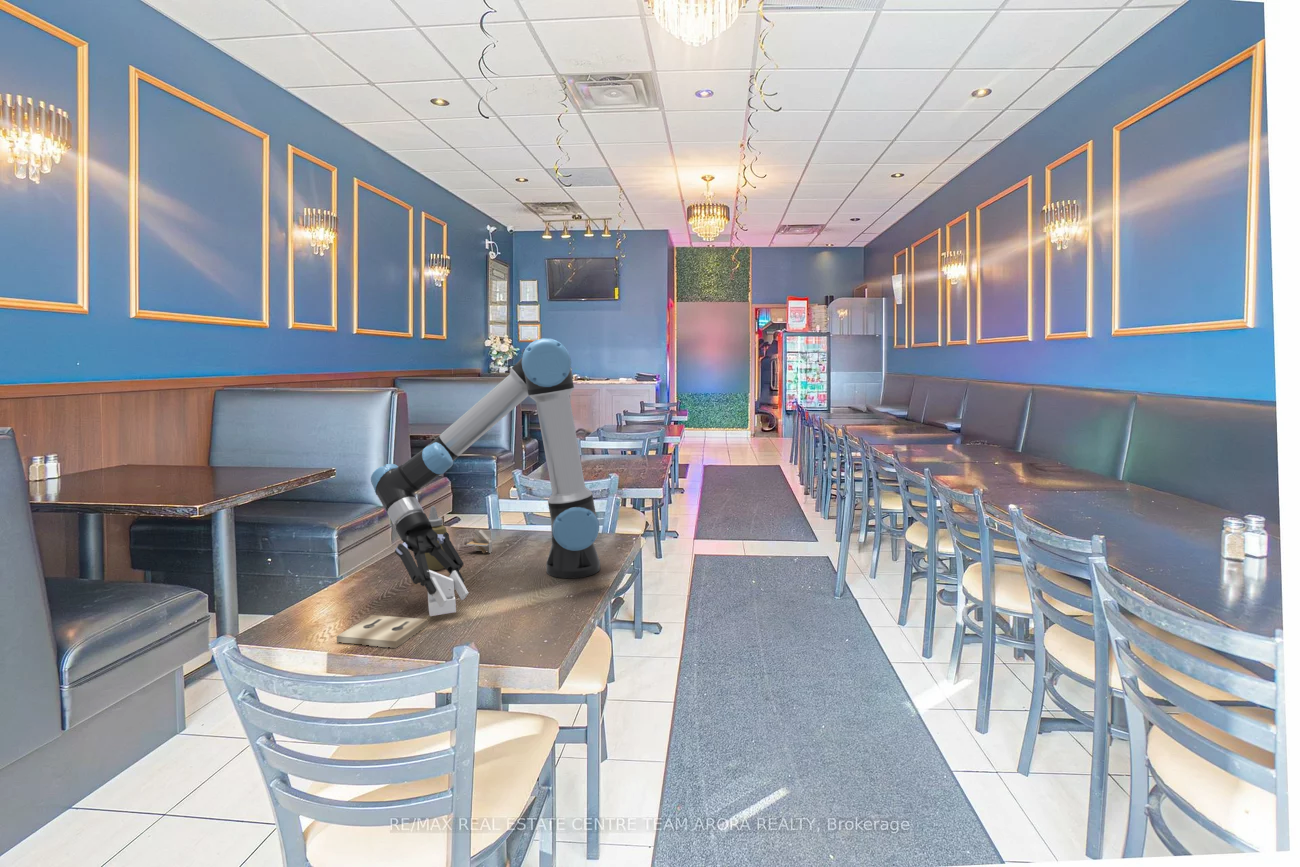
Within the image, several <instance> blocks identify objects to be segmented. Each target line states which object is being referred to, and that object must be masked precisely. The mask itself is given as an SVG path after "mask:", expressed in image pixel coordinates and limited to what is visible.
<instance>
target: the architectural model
mask: <svg viewBox="0 0 1300 867" xmlns="http://www.w3.org/2000/svg"><path fill="white" fill-rule="evenodd" d="M473 533H474V537H473V541H472V540H471V541H470V542H469V541H468V542H467V543H466V546H472V547H473V546H475V552H476V551H482V552H481V553H483V554H484V553H485V552H486V551H488V552H486V553H488V554H489V553H490V554H492V553H493V542H492V530H491V529H490V530H487V529H485V530H484V529H474V532H473ZM491 552H492V553H491ZM486 553H485V554H486Z"/></svg>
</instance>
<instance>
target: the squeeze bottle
mask: <svg viewBox="0 0 1300 867" xmlns="http://www.w3.org/2000/svg"><path fill="white" fill-rule="evenodd" d="M436 508H437V507H436V506H431V507H430V511H429V517H428V519H429V521H430V523H431V526H432V529H433V530H434V531H435V532H436V533H437V534H444V533H445V532H447V527H446V526H445V525H443V518H442V517H439V516H438V512H437V509H436ZM437 542H438V543H439V541H438V540H437ZM440 546H441V544H440ZM441 549H442V550H443V548H442V546H441ZM443 551H444V550H443ZM444 552H445V551H444ZM425 557H426V561H427V565H428V569H429V570H431V571H439V570H443V569H445V568H444V567H443V566H442V565H441V563H440V562H439V561H438V560H437V559H436V558H435V557H434V556H431V555H430V554H429V553H425Z"/></svg>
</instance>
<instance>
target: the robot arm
mask: <svg viewBox="0 0 1300 867" xmlns="http://www.w3.org/2000/svg"><path fill="white" fill-rule="evenodd" d="M574 390H575V386H574V380H573V374H572V360H571V355H570V352H569V350H568V349H567V348H566V347H565V345H564V344H563V343H561V341H558V340H555V339H553V338H549V337H547V338H539V339H535V340H533V341H532V342H530V343H529V344H528V345H527V346H526V348H525V349H524V351H523V353H522V357H521V358H520V359H519V360H518V361H517V362H516V363H515V364H514V365H513V366H511V368H510V373H509V374H507V376H506V377H505V378H504V379H502V380H501V381H500V382H499V383H498V384H497V385H496V386H495V387H494V388H492V389H491V390H490V391H488V393H486V394H485V395H484V396H483V397H482V398H480V399H479V401H477V402H476V403H475V404H473V406H471V407H470V408H469V409H468V410H467V411H466V412H465V413H464V414H462V415H461V416H460V417H458V419H456V420H455V421H454V422H453V423H452V424H451V425H450V426H448V427H447V428H446V429H445V430H444V431H443V432H441V433H440V434H439V435H438V436H437V437H436V438H434V439H433V440H432V441H431V442H430V443H429V444H427V445H425V447H424V448H422V449H421V450H420V451H419V452H418V453H416V454H415V455H413V456H412V457H411V458H409V459H408V460H406V461H405V462H404V463H403V464H401V465H399V466H398V465H397V464H395V463H387V464H384V465H383V466H379V467H377V468H375V470H374V471H373V472H372V474H371V475H370V483H371V485H372V487H373V490H374V492H375V495H376V496H377V498H378V499H379V501H380V503H381V504H382V506H383V508H384V510H385V512H386V514H387V515H388V517H389V519H390V521H391V523H392V524H393V526H394V528H395V531H396V533H397V534H398V536H399V538H400V540H401V541H403V542H402V543H398V545H397V546H396V548H395V549H394V553H395V554H396V556H398V557H399V558H400V559H401V562H402V564H403V566H404V568H405V570H406V571H407V573H408V575H409V577H410V578H411V581H412V583H413V584H414V585H417V584H420V586H422V587H425V589H426V591H427V594H428V593H429V594H430V595H432V594H433V596H434V598H435V599H436V601H437V603H438V605H439V607H443V606H444V604H445V603H446V601H447V599H446V597H445V595H444V593H443V592H442V590H441V588H440V586H439V584H438V582H437V581H436V579H435V577H431V579H430V573H429V572H427V571H429V569H428V565H427V561H426V557H425V553H429V554H430V555H431V556H434V557H435V558H436V559H437V560H438V561H439V562H440V563H441V565H442V566H443V567H444V569H445V570H446V571H447V572H448V573H449V576H448V577H449V578H452V579H453V581H454V591H456V593H457V595H458V597H459V598H460V600H461V601H463V600H465V599H466V598H467V596H468V595H469V591H468V590H467V587H466V585H465V584H464V583H465V579H464V577H463V575H462V574H461V573H462V572H460V570H461V569H462V568H463V566H464V562H463V559H462V558H461V556H460V555H459V552H457V550H456V548H455V546H454V545H453V543H452V541H451V540H450V539H451V538H450V534H449V533H448V531H446V532H445V533H444V534H437V533H436V532H435V531H434V530H433V529H432V526H431V523H430V521H429V517H428V516H427V515H426V513H425V511H424V509H423V507H422V505H421V504H420V502H419V500H418V498H417V497H416V495H415V493H416V492H418V491H419V490H421V489H422V488H423V487H425V486H427V485H428V484H429V483H431V482H432V481H433V480H436V479H437V478H438V477H439V476H441V475H443V474H445V473H446V472H447V471H448V470H449V469H450V468H451V467H453V464H454V461H455V460H457V459H458V458H459V456H461V455H462V454H463V453H464V452H466V450H467V449H469V448H470V447H471V446H473V444H475V443H476V442H477V441H478V440H479V439H481V437H482V436H484V435H485V434H486V433H487V432H489V431H490V430H491V429H492V428H493V427H494V426H495V425H497V424H498V423H499V422H500V421H501V420H503V418H504V417H506V416H507V415H508V414H509V413H510V412H512V411H513V410H514V409H515V408H516V407H517V406H518V405H519V404H521V403H522V402H524V400H525V399H527V398H531V399H532V400H533V401H534V402H535V404H536V405H535V406H536V410H537V416H538V422H539V427H540V431H541V432H540V433H541V439H542V442H543V448H544V449H543V450H544V455H545V460H546V466H547V470H548V477H549V483H550V489H551V493H550V496H549V498H548V499H547V505H548V511H549V516H550V524H551V525H550V526H551V529H550V530H551V547H550V549H549V553H548V556H547V559H546V563H545V569H546V570H545V571H546V574H547V575H549V576H551V577H554V578H560V579H577V578H578V579H579V578H584V577H589V576H593V575H595V574H597V573H598V572H600V571H601V561H600V560H601V559H600V557H599V555H598V552H597V549H596V546H595V544H594V543H595V541H596V539H597V538H598V536H599V533H600V521H599V519H598V517H597V511H596V507H595V506H596V505H595V501H594V495H593V492H592V490H591V489H588V488H587V487H586V483H585V479H584V478H585V477H584V472H583V467H582V466H583V465H582V460H581V455H580V449H579V444H578V438H577V431H576V426H575V421H574V415H573V414H574V413H573V409H572V403H571V398H570V396H571V394H572V392H573V391H574ZM437 540H438V541H439V543H438V542H437ZM440 544H441V546H442V548H443V550H444V551H445V552H444V551H443V550H442V549H441V546H440ZM410 551H411V552H413V555H412V554H411V552H410Z"/></svg>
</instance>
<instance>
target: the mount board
mask: <svg viewBox="0 0 1300 867" xmlns="http://www.w3.org/2000/svg"><path fill="white" fill-rule="evenodd" d="M427 625H428V618H427V619H426V618H419V617H417V618H415V617H405V616H404V617H403V616H389V615H378V614H377V615H375V614H371V615H370V616H368V617H366V618H364V619H362V621H360V622H358V623H356V624H354V625H353V626H351V627H349V628H347V629H346V630H344V631H342V632H341V633H339V634H338V635H336V643H337V642H343V643H355V644H362V645H361V646H366V645H369V646H368V647H377V646H378V648H379V647H380V648H388V647H390V648H389V649H397V648H398V647H400V646H401V645H403V644H404V643H405V642H407V641H408V640H410V639H411V638H413V637H414V636H416V635H417V634H418V633H420V632H421V631H422V630H424V629H425V628H427V627H428V626H429V625H428V626H427ZM426 626H427V627H426ZM424 627H425V628H424ZM423 628H424V629H423ZM420 630H421V631H420ZM419 631H420V632H419ZM416 633H417V634H416ZM413 635H414V636H413ZM412 636H413V637H412ZM409 638H410V639H409ZM343 643H342V644H343Z"/></svg>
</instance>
